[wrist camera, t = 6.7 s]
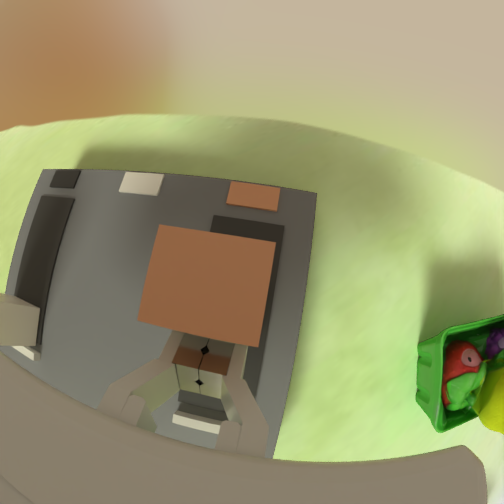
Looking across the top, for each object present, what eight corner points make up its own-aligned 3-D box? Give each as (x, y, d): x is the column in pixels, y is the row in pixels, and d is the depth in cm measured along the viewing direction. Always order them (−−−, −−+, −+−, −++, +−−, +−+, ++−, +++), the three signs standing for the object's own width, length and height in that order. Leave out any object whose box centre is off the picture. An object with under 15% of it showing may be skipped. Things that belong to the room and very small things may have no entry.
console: (26, 357, 18) (-8, 358, 14) (64, 187, 23) (38, 165, 18) (268, 444, 17) (270, 474, 12) (307, 216, 21) (319, 187, 17)
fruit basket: (491, 312, 18) (576, 294, 8) (487, 396, 16) (567, 409, 5) (404, 329, 19) (509, 323, 8) (399, 430, 16) (482, 482, 6)
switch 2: (196, 323, 15) (137, 320, 7) (206, 272, 16) (159, 224, 8) (259, 335, 15) (258, 347, 7) (268, 283, 16) (276, 242, 8)
